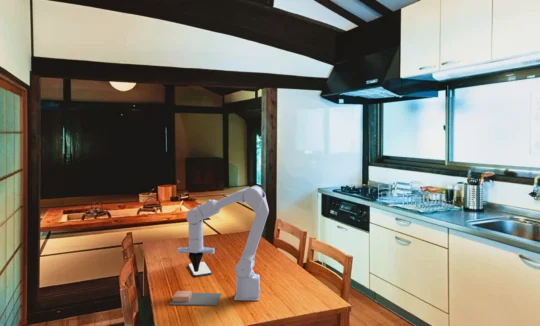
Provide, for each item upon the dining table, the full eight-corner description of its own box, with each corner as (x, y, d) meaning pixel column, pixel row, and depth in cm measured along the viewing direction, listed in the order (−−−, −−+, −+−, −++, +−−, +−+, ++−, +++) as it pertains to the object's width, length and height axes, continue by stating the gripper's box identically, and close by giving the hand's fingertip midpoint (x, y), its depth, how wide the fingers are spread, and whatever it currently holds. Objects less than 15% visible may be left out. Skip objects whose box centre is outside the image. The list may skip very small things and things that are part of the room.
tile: (191, 291, 143) (176, 290, 143) (188, 296, 138) (173, 296, 138) (192, 295, 143) (177, 295, 143) (188, 301, 138) (173, 301, 138)
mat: (221, 294, 146) (221, 293, 146) (216, 305, 136) (216, 304, 136) (176, 293, 146) (176, 292, 146) (169, 305, 136) (169, 303, 136)
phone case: (212, 276, 167) (205, 264, 181) (212, 272, 166) (205, 261, 181) (193, 279, 163) (187, 266, 178) (193, 275, 163) (187, 263, 178)
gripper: (215, 235, 149) (216, 267, 150) (180, 234, 149) (181, 267, 150) (212, 240, 142) (212, 273, 143) (175, 239, 142) (176, 273, 143)
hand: (196, 270), depth 146 cm, fingers closed
